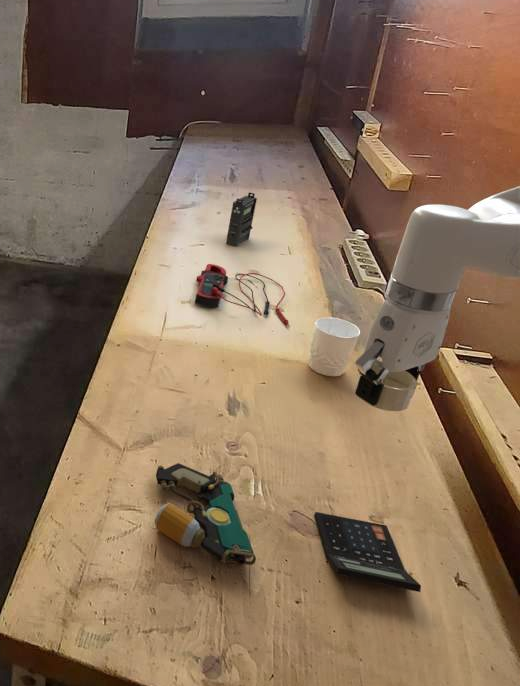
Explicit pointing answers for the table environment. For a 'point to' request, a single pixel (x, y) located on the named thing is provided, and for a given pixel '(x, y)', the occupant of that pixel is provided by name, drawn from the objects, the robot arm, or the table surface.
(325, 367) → the white cup
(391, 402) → the bowl
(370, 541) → the calculator
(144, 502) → the table surface
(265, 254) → the table surface
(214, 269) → the digital clamp meter
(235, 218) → the geiger counter
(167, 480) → the spray gun
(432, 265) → the robot arm
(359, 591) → the table surface
